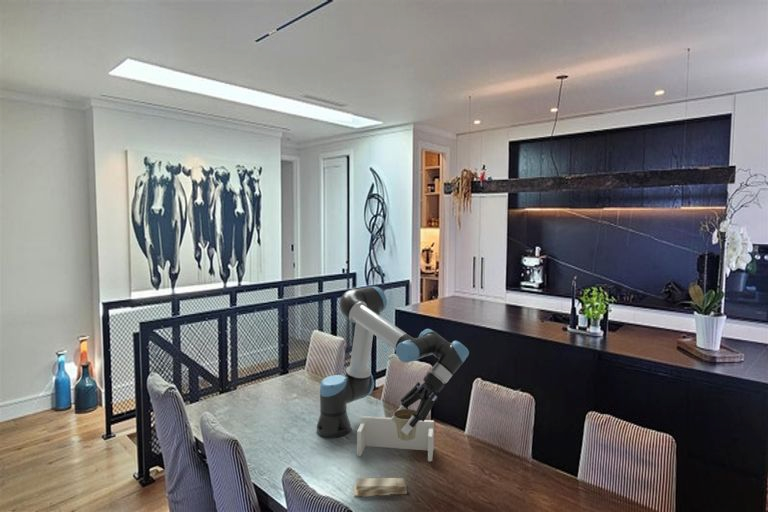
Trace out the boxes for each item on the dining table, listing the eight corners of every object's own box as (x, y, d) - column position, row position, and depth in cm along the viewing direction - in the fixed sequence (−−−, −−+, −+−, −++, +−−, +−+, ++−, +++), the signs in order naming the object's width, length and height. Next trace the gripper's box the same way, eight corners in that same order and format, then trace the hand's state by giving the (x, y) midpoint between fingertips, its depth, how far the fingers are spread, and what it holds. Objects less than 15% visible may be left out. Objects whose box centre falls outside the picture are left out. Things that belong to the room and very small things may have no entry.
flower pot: (392, 431, 167) (391, 409, 167) (417, 430, 168) (417, 408, 167) (394, 443, 158) (394, 420, 157) (421, 442, 159) (421, 418, 158)
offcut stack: (354, 498, 151) (354, 488, 150) (353, 487, 157) (353, 477, 157) (407, 495, 152) (407, 485, 152) (404, 484, 159) (404, 474, 159)
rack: (356, 455, 178) (356, 426, 177) (361, 443, 187) (361, 415, 187) (432, 461, 173) (432, 431, 172) (433, 449, 183) (433, 420, 182)
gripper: (458, 394, 157) (417, 446, 152) (430, 375, 177) (393, 420, 173) (445, 381, 155) (403, 434, 150) (418, 363, 175) (380, 409, 171)
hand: (398, 426), depth 161 cm, fingers closed on flower pot, 9 cm apart
